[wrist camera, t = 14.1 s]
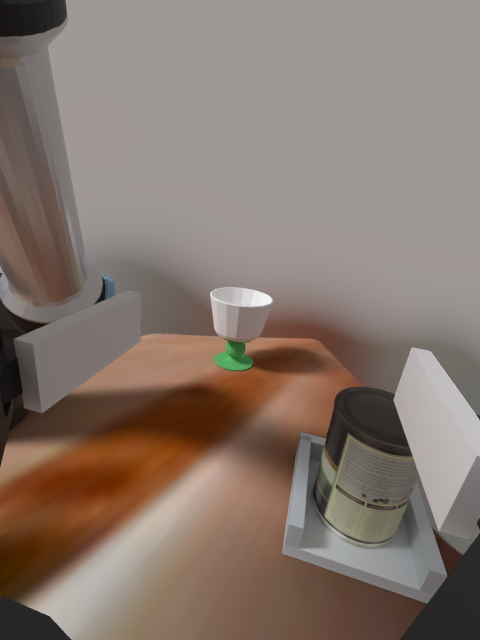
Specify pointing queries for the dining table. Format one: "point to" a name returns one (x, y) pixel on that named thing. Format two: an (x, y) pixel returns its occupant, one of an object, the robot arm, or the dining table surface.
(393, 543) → the tray
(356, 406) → the coffee can
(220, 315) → the cup
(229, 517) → the dining table surface
